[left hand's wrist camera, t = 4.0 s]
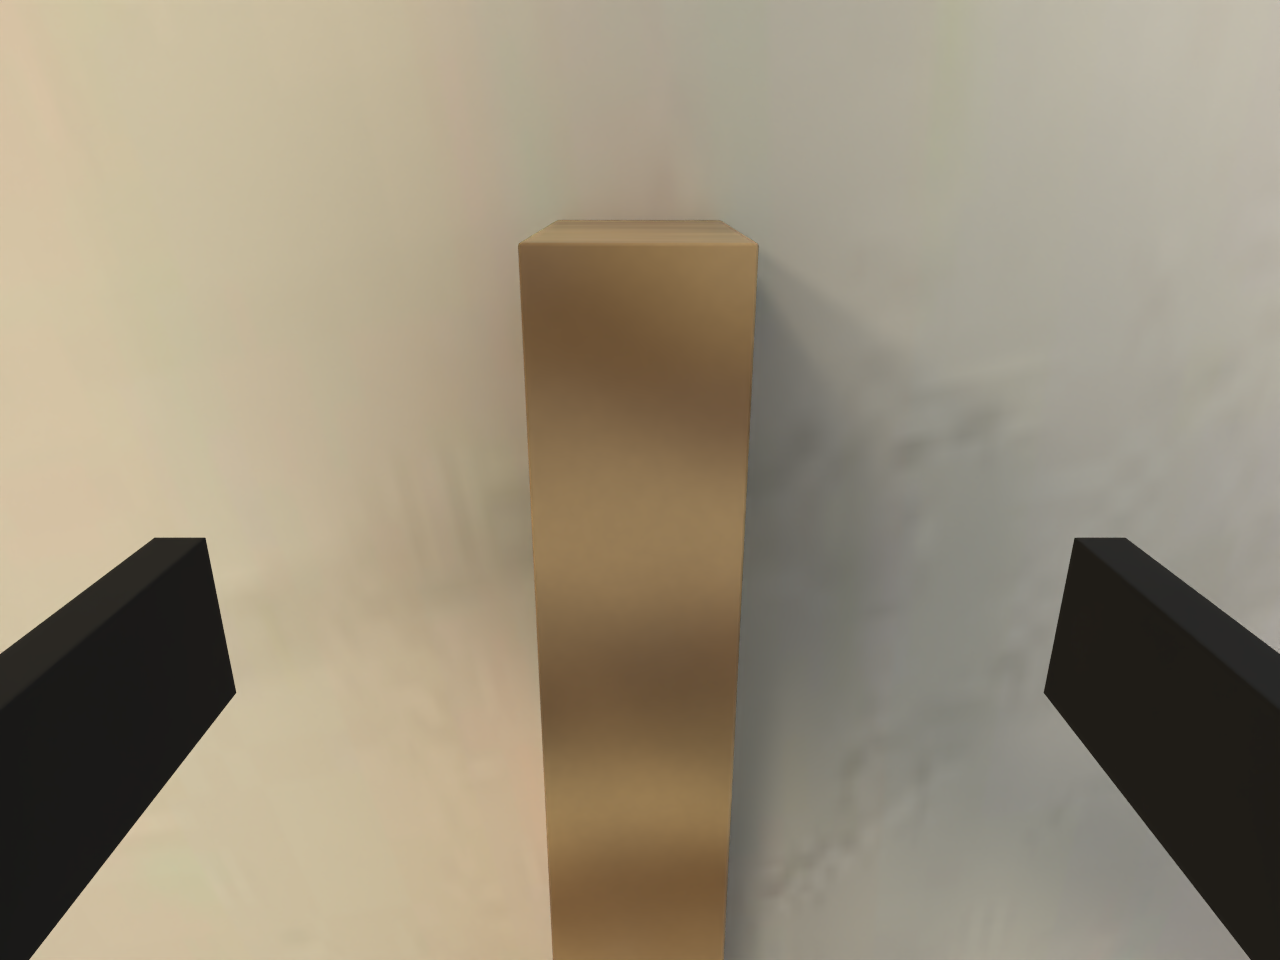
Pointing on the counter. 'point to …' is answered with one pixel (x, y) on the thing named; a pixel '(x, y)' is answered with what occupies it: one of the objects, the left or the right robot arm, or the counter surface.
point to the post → (638, 570)
